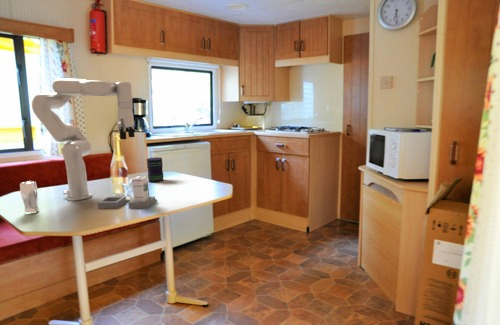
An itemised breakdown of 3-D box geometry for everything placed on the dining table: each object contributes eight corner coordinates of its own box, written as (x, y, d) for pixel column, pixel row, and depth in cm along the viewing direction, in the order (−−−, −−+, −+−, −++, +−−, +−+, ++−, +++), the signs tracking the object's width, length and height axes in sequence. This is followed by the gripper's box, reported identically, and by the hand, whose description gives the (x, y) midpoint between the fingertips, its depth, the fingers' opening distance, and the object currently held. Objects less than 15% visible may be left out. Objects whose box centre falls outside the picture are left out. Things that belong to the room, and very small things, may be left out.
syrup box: (145, 207, 177) (142, 178, 174) (134, 206, 178) (131, 178, 175) (150, 203, 182) (147, 176, 180) (139, 203, 183) (136, 176, 181)
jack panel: (98, 208, 177) (97, 202, 177) (109, 201, 189) (109, 195, 189) (148, 208, 175) (147, 202, 174) (156, 201, 187) (156, 195, 186)
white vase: (37, 209, 178) (32, 180, 175) (42, 211, 174) (38, 182, 171) (21, 213, 173) (16, 183, 170) (26, 215, 168) (22, 185, 166)
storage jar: (167, 180, 235) (165, 158, 232) (155, 183, 226) (154, 160, 224) (156, 178, 240) (154, 157, 237) (145, 181, 232) (143, 159, 229)
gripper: (125, 105, 196) (128, 136, 199) (110, 106, 179) (113, 140, 182) (138, 105, 195) (141, 136, 198) (124, 106, 178) (126, 140, 181)
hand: (127, 138), depth 190 cm, fingers open, 9 cm apart
